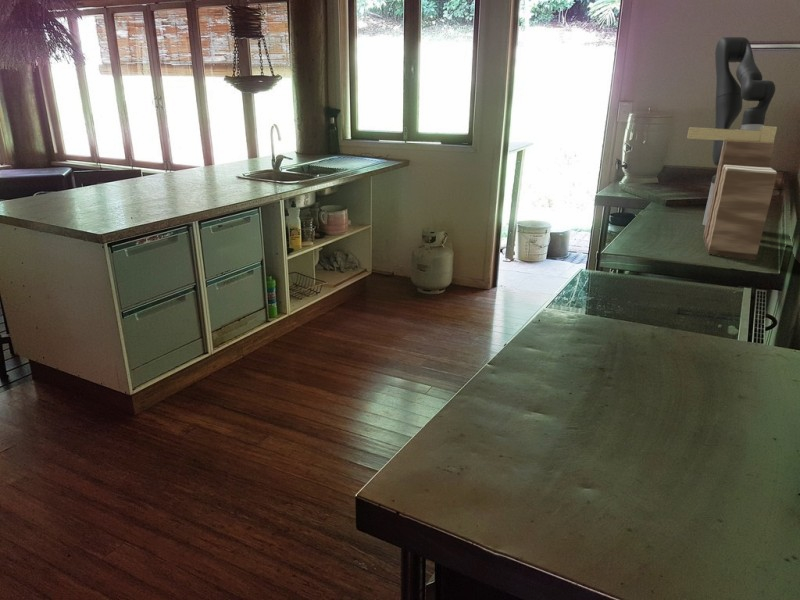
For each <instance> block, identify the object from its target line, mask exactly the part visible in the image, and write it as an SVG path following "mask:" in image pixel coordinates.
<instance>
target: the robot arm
mask: <svg viewBox="0 0 800 600" xmlns="http://www.w3.org/2000/svg"><path fill="white" fill-rule="evenodd" d="M714 52H715V53H714V55H715V57H714V58H715V60H714V61H715V74H716V76H715V77H716V88H715V89H716V91H715V108H714V109H715V123H714V124H715V127H714V128H716V129H731V126H732V125H733V123H734V122H735V120H736V119H737V118H738V117H739V115H740V113H741V111H742V109H743V100H744V101H747V102H758V103H757V105H756V106H755V107H754V106H753V107H750V108H746V109H744V111H743V113H742V120H741V121H742V122H741V127H740V130H760V128H761V126H765V122H766V121H765V120H766V115H767V111H768V108H769V106H770V103H771V102H772V99H773V97H774V96H775V93H776V85H775V82H773V81H772V80H763V75H762V72H761V70H760V69H759V68H758V66H757V64H756V62H755V58H754V57H755V56H754V53H753V49H752V46H751V43H750V40H749V38H746V37H745V36H744V37H743V36H724V37H721V38H719V40H718V41H717V43H716V46H715V51H714ZM730 63H739V65H738V66H737V68H736V70H735V71H736V72H735V75H736V78H737V79H735V77H734V75H733V74H732V72H731V70H730ZM737 80H738V81H737ZM738 82H739V83H738ZM723 141H724V140H713V147H712V162H713V165H714V166H717V167H718V165H719V160H720V155H721V151H722V146H723ZM715 179H716V174H714V175H713V176H712V178H711V182H710V187H709V192H708V197H707V202H706V206H705V210H704V216H703V221H702V225H703V226H705V225H706V221H707V216H708V211H709V207H710V202H711V197H712V193H713V188H714V183H715Z"/></svg>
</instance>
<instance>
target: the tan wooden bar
mask: <svg viewBox="0 0 800 600" xmlns="http://www.w3.org/2000/svg"><path fill="white" fill-rule="evenodd" d="M777 130H778V127H777V126H772V125H771V126H767V125H764V126H761V128H760V130H741V128H740V129H733V128H729V129H716V128H715V127H711V128H709V127H694V126H693V127H688V130H687V131H688V132H687V135H686V137H687V139H688V140H691V139H692V140H706V141H707V140H711V141H714V140H727V141H747V142H764V143H774V142H775V137H776V133H777Z"/></svg>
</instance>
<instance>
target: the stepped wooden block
mask: <svg viewBox="0 0 800 600" xmlns="http://www.w3.org/2000/svg"><path fill="white" fill-rule="evenodd" d="M774 148H775V143H764V142H747V141H727V140H724V141H723V146H722V151H721V155H720V160H719V165H718V166H717V170H716V174H715V175H716V179H715V183H714V188H713V193H712V197H711V202H710V207H709V211H708V216H707V221H706V225H704V232H703V235H702V239H703V243H704V246H706V247H705V250H706V249H707V250H706V252H707V251H708V253H707V255H708V254H712V255H711V256H713V255H720V256H719V257H722V256H727V257H726V258H731V257H734V258H733V259H742V260H747V261H749V260H751V261H756V260H757V256H758V252H759V248H760V244H761V241H762V237H763V231H764V228H765V224H766V220H767V216H768V213H769V209H770V204H771V201H772V196H773V194H774V189H775V184H776V180H777V177H778V176H777V175H778V173H777V171H776V170H775V169H773V168H772V167H770V164H771V161H772V160H771V159H772V156H773V151H774V150H775V149H774Z"/></svg>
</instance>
